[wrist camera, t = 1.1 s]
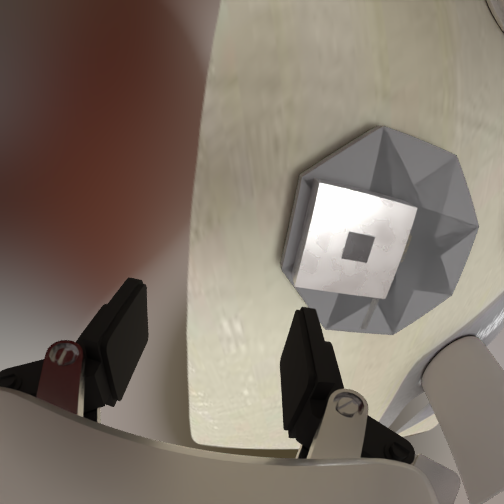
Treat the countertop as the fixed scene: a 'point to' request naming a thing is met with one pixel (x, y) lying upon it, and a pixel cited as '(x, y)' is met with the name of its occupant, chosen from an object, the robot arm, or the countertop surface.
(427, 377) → the cylinder vase
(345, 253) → the cover
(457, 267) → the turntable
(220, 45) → the countertop surface
